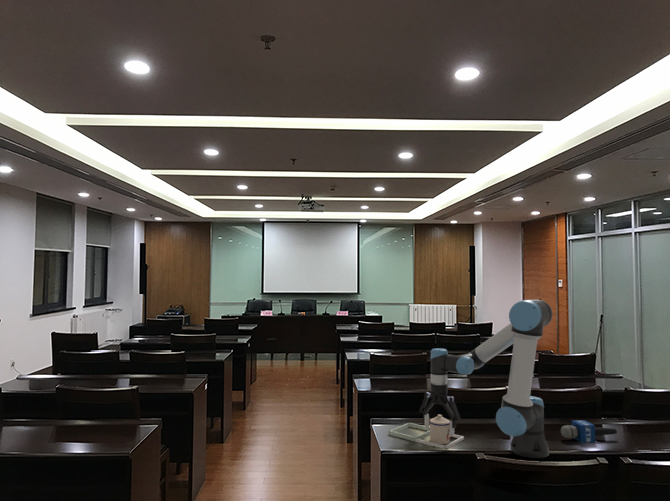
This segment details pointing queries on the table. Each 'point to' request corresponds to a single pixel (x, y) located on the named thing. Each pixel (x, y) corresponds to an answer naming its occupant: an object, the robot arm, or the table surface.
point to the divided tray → (421, 435)
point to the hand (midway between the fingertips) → (439, 432)
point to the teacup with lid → (439, 430)
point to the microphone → (584, 431)
